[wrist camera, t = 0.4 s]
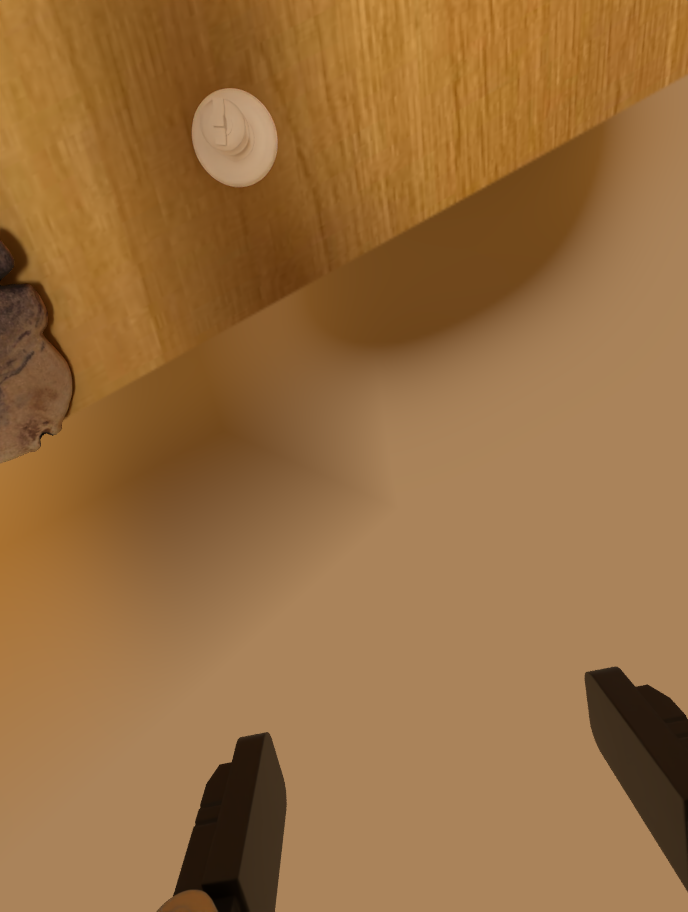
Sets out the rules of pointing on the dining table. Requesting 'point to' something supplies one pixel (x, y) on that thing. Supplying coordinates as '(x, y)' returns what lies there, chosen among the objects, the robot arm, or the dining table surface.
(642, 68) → the dining table surface
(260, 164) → the chess piece
